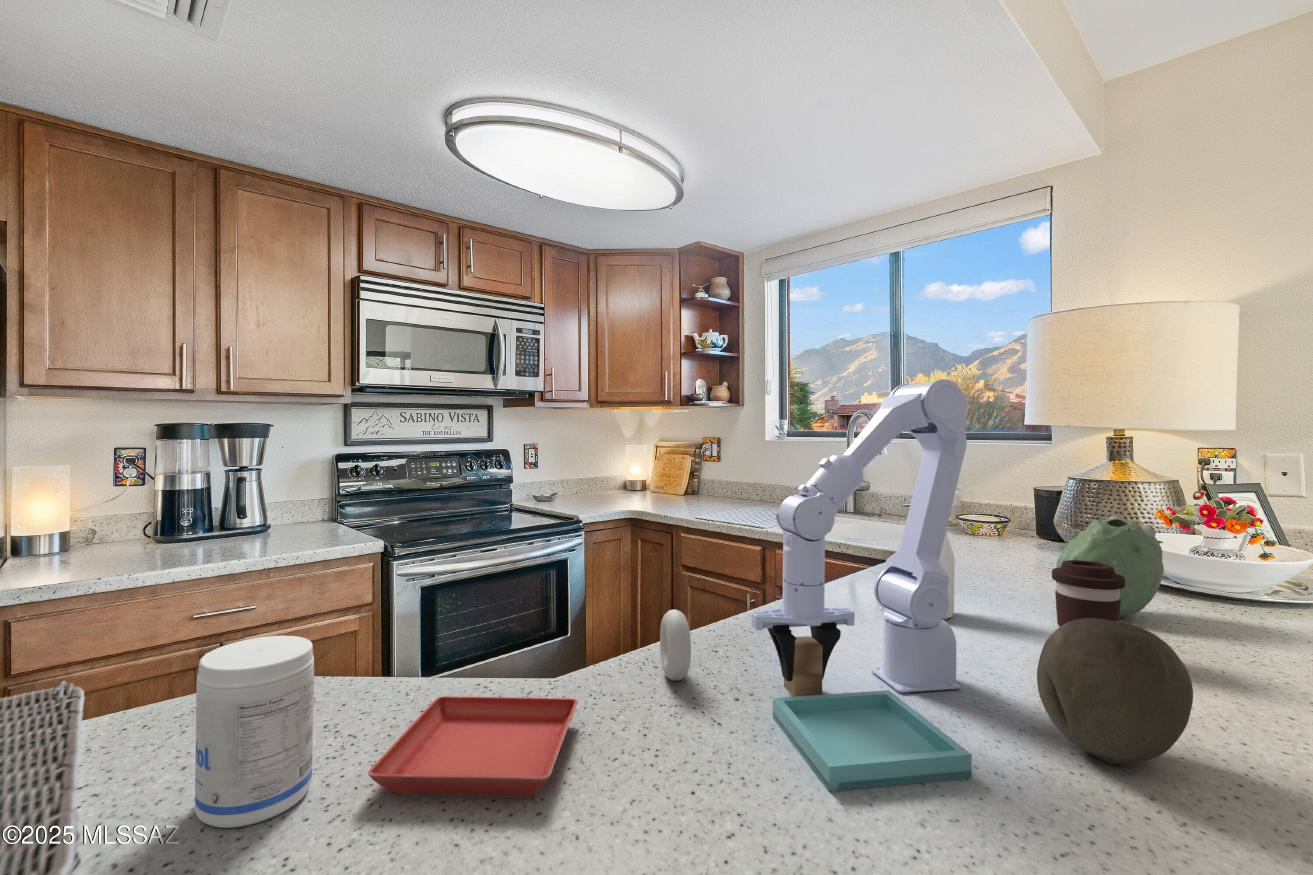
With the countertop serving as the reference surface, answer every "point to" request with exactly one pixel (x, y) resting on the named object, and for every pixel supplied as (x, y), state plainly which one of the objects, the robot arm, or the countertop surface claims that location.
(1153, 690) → the grey river stone
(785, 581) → the robot arm
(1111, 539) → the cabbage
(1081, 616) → the coffee cup
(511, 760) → the plant saucer
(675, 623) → the donut
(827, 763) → the tray
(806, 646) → the block
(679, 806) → the countertop surface
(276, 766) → the supplement tub
